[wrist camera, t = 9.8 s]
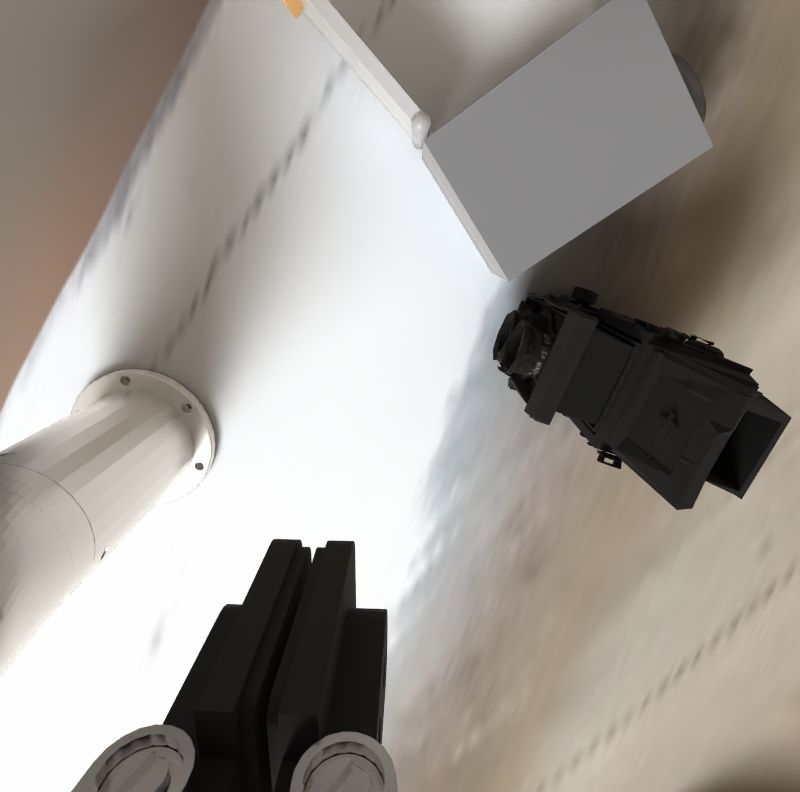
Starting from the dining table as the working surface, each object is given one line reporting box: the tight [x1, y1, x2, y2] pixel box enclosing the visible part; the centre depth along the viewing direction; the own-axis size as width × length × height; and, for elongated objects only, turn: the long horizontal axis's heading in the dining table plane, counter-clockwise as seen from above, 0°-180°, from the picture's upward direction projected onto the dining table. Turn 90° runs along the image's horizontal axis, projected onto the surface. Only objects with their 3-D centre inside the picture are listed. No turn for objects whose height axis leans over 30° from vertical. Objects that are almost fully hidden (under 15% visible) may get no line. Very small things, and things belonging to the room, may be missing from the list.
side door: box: [282, 0, 431, 149], centre depth 33 cm, size 12×2×6 cm, turn 44°
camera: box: [493, 286, 791, 510], centre depth 33 cm, size 10×14×20 cm
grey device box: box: [422, 0, 713, 281], centre depth 34 cm, size 15×10×8 cm
